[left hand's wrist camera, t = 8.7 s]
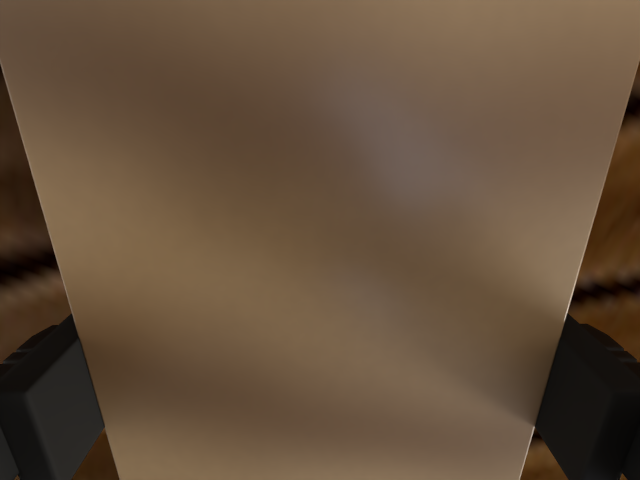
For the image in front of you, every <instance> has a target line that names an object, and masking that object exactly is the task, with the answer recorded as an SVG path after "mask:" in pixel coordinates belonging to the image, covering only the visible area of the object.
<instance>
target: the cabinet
mask: <svg viewBox="0 0 640 480" xmlns="http://www.w3.org/2000/svg"><path fill="white" fill-rule="evenodd" d="M639 61H640V0H0V64H1V68H2V71H3V75H4V78H5V82H6V85H7V89H8V92H9V96H10V99H11V103H12V106H13V110H14V113H15V117H16V120H17V124H18V127H19V130H20V134H21V137H22V141H23V144H24V148H25V151H26V155H27V158H28V162H29V165H30V169H31V172H32V176H33V179H34V183H35V186H36V190H37V193H38V197H39V200H40V204H41V207H42V211H43V214H44V218H45V221H46V224H47V228H48V231H49V235H50V238H51V242H52V245H53V249H54V252H55V256H56V259H57V263H58V266H59V270H60V273H61V277H62V280H63V284H64V287H65V291H66V294H67V298H68V301H69V305H70V308H71V312H72V315H73V318H74V322H75V325H76V329H77V332H78V336H79V339H80V343H81V346H82V350H83V353H84V357H85V360H86V364H87V367H88V371H89V374H90V378H91V381H92V385H93V388H94V392H95V395H96V399H97V402H98V406H99V409H100V413H101V416H102V419H103V423H104V426H105V430H106V433H107V437H108V440H109V444H110V447H111V451H112V454H113V458H114V461H115V465H116V468H117V472H118V475H119V479H120V480H520V477H521V473H522V470H523V466H524V463H525V459H526V456H527V452H528V449H529V445H530V442H531V438H532V435H533V431H534V428H535V424H536V421H537V417H538V414H539V410H540V407H541V403H542V400H543V396H544V393H545V389H546V386H547V382H548V379H549V375H550V372H551V368H552V365H553V361H554V358H555V354H556V351H557V347H558V344H559V340H560V337H561V333H562V330H563V326H564V323H565V319H566V316H567V312H568V309H569V305H570V302H571V298H572V295H573V291H574V288H575V284H576V281H577V277H578V274H579V270H580V267H581V263H582V260H583V256H584V253H585V249H586V246H587V242H588V239H589V235H590V232H591V228H592V225H593V221H594V218H595V214H596V211H597V207H598V204H599V200H600V197H601V193H602V190H603V186H604V183H605V179H606V176H607V172H608V169H609V165H610V162H611V158H612V155H613V151H614V148H615V144H616V141H617V137H618V134H619V130H620V127H621V123H622V120H623V116H624V113H625V109H626V106H627V102H628V99H629V96H630V92H631V89H632V85H633V82H634V78H635V75H636V71H637V68H638V64H639Z"/></svg>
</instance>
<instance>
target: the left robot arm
mask: <svg viewBox="0 0 640 480" xmlns="http://www.w3.org/2000/svg"><path fill="white" fill-rule="evenodd" d="M104 427H105V426H104V423H103V419H102V416H101V413H100V409H99V406H98V402H97V399H96V395H95V392H94V388H93V385H92V381H91V378H90V374H89V371H88V367H87V364H86V360H85V357H84V353H83V350H82V346H81V343H80V339H79V336H78V332H77V329H76V325H75V322H74V318H73V315H72V314H71V315H69V316H68V317H67V318H66V319H65V320H64V321H63V322H62V323H61V324H59V325H52V326H50V327H49V328H47V329H45V330H43V331H41V332H39V333H38V334H36V335H34V336H32V337H31V338H30V339H28V340H27V341H26V342H25V343H24V344H23V345H21V346H20V347H19V348H18V349H17V350H16V353H12V354H11V355H10V356H9V357H7V358H6V359H5V360H4V361H3V364H0V480H14V478H15V477H16V476H17V475H18V476H19V478H20V480H71V479H72V477H73V476H74V474H75V472H76V471H77V469H78V468H79V466H80V465H81V463H82V461H83V460H84V458H85V457H86V455H87V454H88V452H89V450H90V449H91V447H92V446H93V444H94V443H95V441H96V439H97V438H98V436H99V435H100V433H101V432H102V430H103V428H104ZM535 428H536V429H537V431H538V432H539V434H540V435H541V437H542V439H543V440H544V442H545V443H546V445H547V446H548V448H549V450H550V451H551V453H552V454H553V456H554V457H555V459H556V461H557V462H558V464H559V465H560V467H561V468H562V470H563V471H564V473H565V475H566V476H567V478H568V479H569V480H619V479H620V477H621V474H622V473H623V474H624V476H625V477H626V478H627V479H628V480H640V363H637V359H635V358H634V357H633V356H632V355H631V354H630V353H628V352H627V351H624V348H622V347H621V346H620V345H619V344H618V343H617V342H615V341H614V340H613V339H612V338H611V337H610V336H608V335H607V334H605V333H603V332H601V331H599V330H598V329H596V328H594V327H592V326H590V325H588V324H579V323H578V322H577V321H576V320H575V319H573V318H572V317H571V316H570V315H569V314H568V313H567V316H566V319H565V323H564V326H563V330H562V333H561V337H560V340H559V344H558V347H557V351H556V354H555V358H554V361H553V365H552V368H551V372H550V375H549V379H548V382H547V386H546V389H545V393H544V396H543V400H542V403H541V407H540V410H539V414H538V417H537V421H536V424H535Z"/></svg>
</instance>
